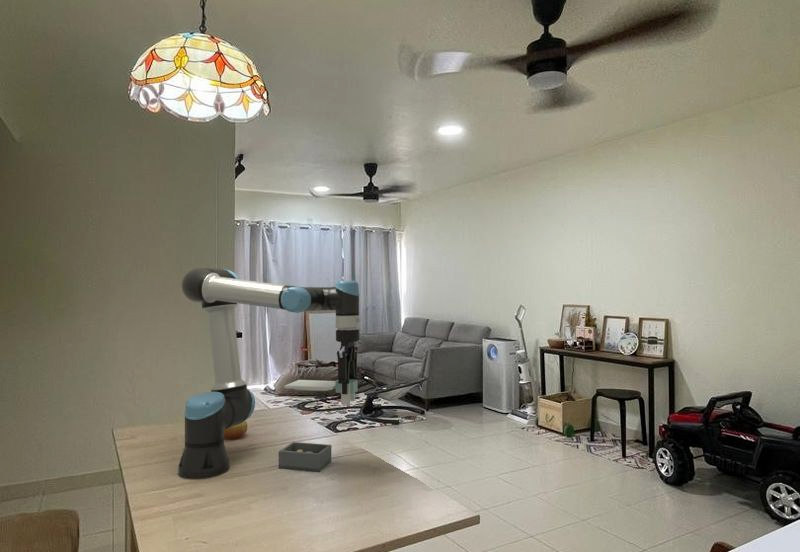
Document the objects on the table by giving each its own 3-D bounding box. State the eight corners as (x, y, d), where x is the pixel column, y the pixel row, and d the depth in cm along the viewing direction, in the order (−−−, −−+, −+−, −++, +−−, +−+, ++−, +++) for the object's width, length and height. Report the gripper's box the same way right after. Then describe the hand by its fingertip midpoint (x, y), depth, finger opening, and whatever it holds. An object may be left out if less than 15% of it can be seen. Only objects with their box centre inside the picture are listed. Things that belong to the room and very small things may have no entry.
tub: (278, 468, 158) (278, 451, 158) (292, 458, 168) (292, 441, 168) (319, 472, 155) (319, 454, 155) (331, 461, 164) (331, 444, 165)
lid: (284, 392, 157) (284, 381, 157) (298, 386, 167) (298, 375, 168) (350, 395, 152) (349, 383, 152) (360, 388, 162) (360, 377, 162)
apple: (237, 432, 198) (237, 412, 198) (252, 436, 193) (252, 416, 193) (215, 438, 190) (215, 417, 191) (230, 443, 185) (230, 421, 185)
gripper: (349, 331, 149) (350, 409, 149) (366, 327, 166) (367, 397, 165) (326, 330, 151) (327, 408, 150) (345, 326, 168) (346, 396, 167)
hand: (348, 402), depth 158 cm, fingers closed on lid, 4 cm apart
